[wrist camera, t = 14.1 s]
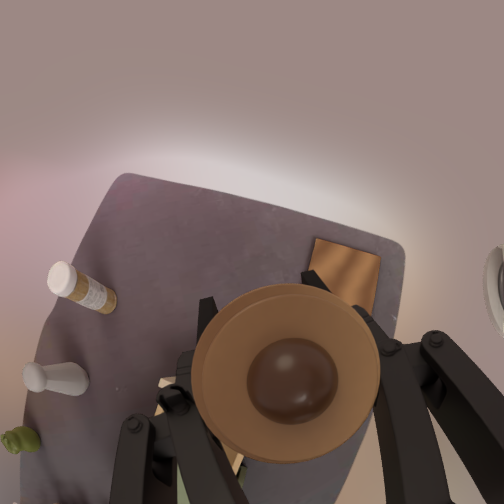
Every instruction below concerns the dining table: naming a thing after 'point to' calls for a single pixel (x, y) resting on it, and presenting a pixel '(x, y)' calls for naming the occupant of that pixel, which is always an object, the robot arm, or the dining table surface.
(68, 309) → the dining table surface
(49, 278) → the spice jar
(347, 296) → the square wooden board
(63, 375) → the salt shaker
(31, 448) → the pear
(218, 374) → the pepper mill
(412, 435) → the robot arm
